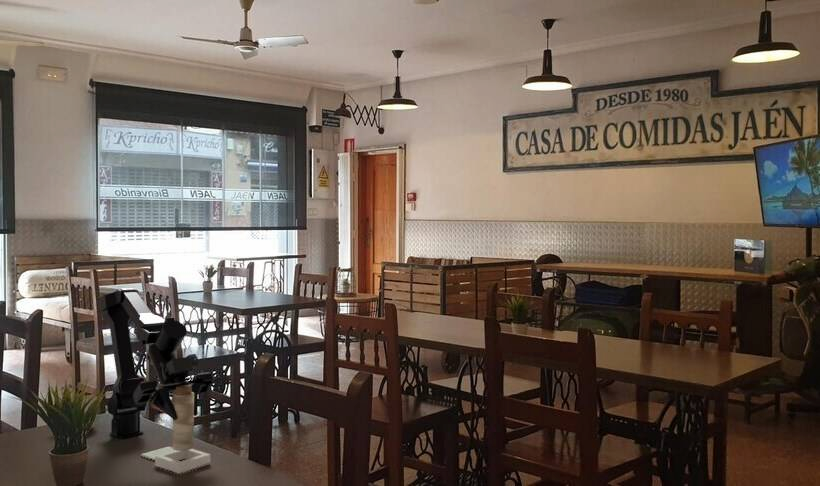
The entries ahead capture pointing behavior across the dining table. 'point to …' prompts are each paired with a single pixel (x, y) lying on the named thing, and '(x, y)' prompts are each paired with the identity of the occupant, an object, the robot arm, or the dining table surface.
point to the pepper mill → (183, 418)
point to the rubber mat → (157, 452)
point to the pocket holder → (172, 464)
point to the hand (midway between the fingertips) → (186, 417)
